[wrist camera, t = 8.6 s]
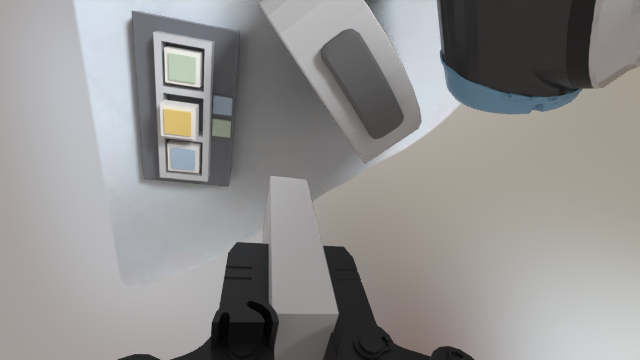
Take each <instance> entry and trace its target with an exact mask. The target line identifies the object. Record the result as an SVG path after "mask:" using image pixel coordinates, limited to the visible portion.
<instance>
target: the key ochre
mask: <svg viewBox="0 0 640 360" xmlns="http://www.w3.org/2000/svg"><path fill="white" fill-rule="evenodd" d="M160 122H161V136H168V137H176V138H184V139H193V140H196V138H197V136H198V134H199V104H192V103H185V102H178V101H171V100H164V101H162V102H161V103H160Z"/></svg>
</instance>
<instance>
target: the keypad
mask: <svg viewBox="0 0 640 360" xmlns="http://www.w3.org/2000/svg"><path fill="white" fill-rule="evenodd" d="M132 22H133V36H134V50H135V64H136V78H137V92H138V105H139V119H140V133H141V147H142V161H143V175H144V179H152V180H163V181H174V182H185V183H196V184H207V185H218V186H229V182H230V170H231V155H232V140H233V125H234V110H235V95H236V80H237V65H238V50H239V35H240V31H236V30H231V29H226V28H220V27H215V26H210V25H205V24H200V23H195V22H190V21H185V20H180V19H175V18H170V17H165V16H159V15H154V14H149V13H144V12H139V11H132ZM167 46H173V47H179V48H185V49H190V50H196V51H201V52H204V55H203V85H202V86H201V87H200V88H199V87H193V86H186V85H180V84H173V83H167V82H165V57H164V47H167ZM164 100H171V101H178V102H185V103H192V104H199V134H198V136H197V138H196V140H193V139H184V138H176V137H168V136H161V122H160V103H161V102H162V101H164ZM170 139H177V140H185V141H194V142H202V155H201V169H200V171H199V173H191V172H180V171H170V170H168V150H167V143H168V142H169V141H170Z"/></svg>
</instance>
